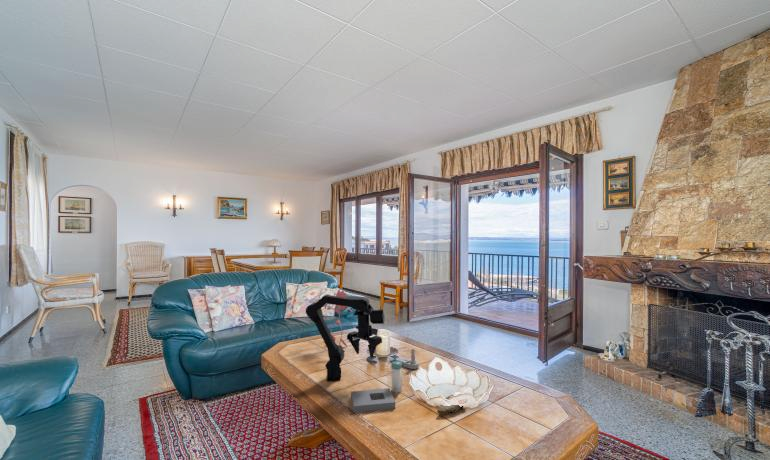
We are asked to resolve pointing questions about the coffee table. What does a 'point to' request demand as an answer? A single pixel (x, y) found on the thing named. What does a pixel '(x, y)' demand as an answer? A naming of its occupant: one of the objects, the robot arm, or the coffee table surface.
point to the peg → (396, 377)
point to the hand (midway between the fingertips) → (364, 355)
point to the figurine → (339, 315)
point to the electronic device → (409, 361)
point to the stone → (447, 408)
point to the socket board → (364, 402)
